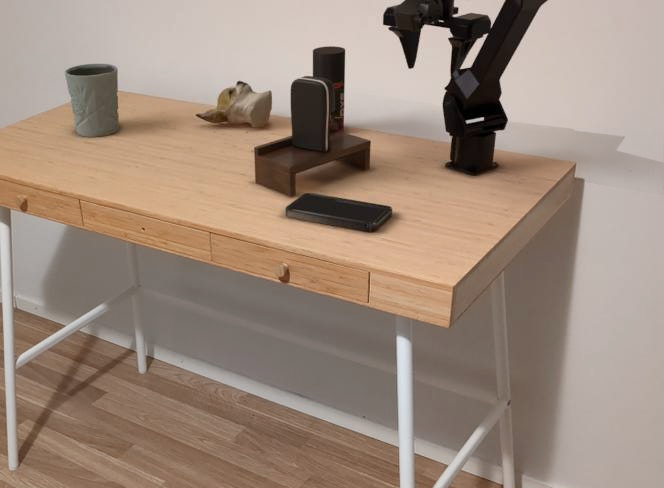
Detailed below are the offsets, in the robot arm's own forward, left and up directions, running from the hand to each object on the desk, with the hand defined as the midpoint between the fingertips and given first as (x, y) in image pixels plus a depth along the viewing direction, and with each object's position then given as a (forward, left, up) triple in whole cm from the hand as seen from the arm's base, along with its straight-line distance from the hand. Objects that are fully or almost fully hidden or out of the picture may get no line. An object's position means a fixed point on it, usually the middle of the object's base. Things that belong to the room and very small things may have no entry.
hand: (431, 72), depth 155 cm
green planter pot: (+53, +37, -13) cm, 66 cm away
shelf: (+3, +25, -13) cm, 28 cm away
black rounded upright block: (+3, +25, -8) cm, 26 cm away
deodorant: (+19, +6, -13) cm, 24 cm away
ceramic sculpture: (+35, +15, -13) cm, 41 cm away
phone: (-12, +33, -13) cm, 38 cm away
